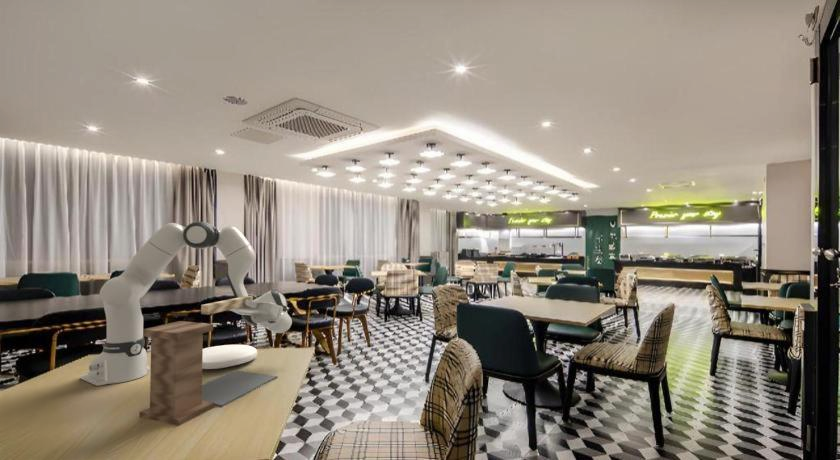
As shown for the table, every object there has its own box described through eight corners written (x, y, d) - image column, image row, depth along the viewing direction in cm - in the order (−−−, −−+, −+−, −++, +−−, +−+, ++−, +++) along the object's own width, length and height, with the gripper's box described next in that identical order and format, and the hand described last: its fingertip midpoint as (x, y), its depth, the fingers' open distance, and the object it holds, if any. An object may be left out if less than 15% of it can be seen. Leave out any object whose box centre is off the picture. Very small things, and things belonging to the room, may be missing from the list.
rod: (208, 314, 123) (208, 305, 124) (201, 314, 124) (201, 304, 124) (252, 304, 142) (252, 296, 143) (246, 303, 143) (246, 295, 143)
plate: (219, 340, 177) (270, 344, 172) (218, 355, 176) (269, 359, 171) (169, 352, 150) (227, 357, 144) (167, 369, 149) (226, 374, 144)
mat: (174, 398, 125) (174, 396, 125) (235, 371, 149) (235, 370, 149) (222, 406, 118) (222, 404, 118) (277, 377, 143) (277, 376, 143)
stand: (139, 416, 112) (140, 329, 112) (176, 400, 123) (177, 320, 124) (179, 425, 107) (180, 333, 107) (214, 407, 118) (215, 324, 119)
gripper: (245, 304, 155) (221, 291, 143) (286, 307, 148) (265, 294, 137) (239, 319, 151) (214, 307, 140) (281, 322, 145) (259, 310, 134)
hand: (240, 300), depth 138 cm, fingers closed on rod, 3 cm apart
